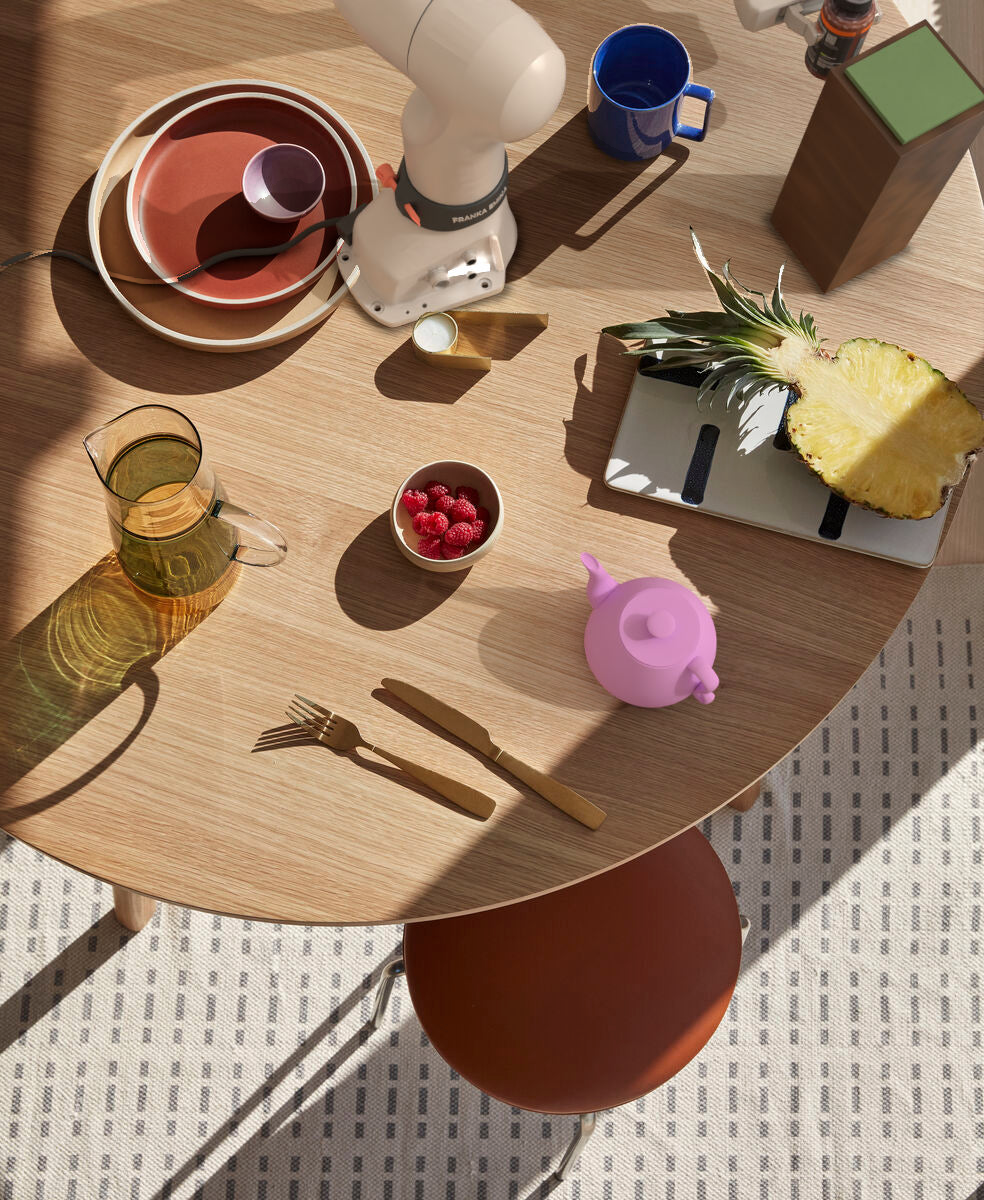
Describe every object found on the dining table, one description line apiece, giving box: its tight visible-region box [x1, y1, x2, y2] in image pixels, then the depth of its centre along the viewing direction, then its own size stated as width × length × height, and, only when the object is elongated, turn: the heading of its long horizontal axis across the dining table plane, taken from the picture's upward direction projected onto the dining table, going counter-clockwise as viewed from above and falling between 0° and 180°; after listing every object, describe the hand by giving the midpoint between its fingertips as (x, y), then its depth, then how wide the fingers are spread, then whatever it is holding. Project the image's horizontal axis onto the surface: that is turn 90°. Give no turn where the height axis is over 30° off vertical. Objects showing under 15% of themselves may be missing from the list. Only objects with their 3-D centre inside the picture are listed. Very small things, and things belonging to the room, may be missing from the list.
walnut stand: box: [768, 18, 984, 295], centre depth 124 cm, size 12×12×26 cm
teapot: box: [580, 551, 720, 709], centre depth 117 cm, size 20×14×12 cm
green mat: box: [844, 26, 984, 145], centre depth 111 cm, size 10×10×1 cm
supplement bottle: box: [804, 0, 876, 82], centre depth 126 cm, size 6×6×11 cm
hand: (847, 31), depth 126 cm, fingers closed on supplement bottle, 6 cm apart
